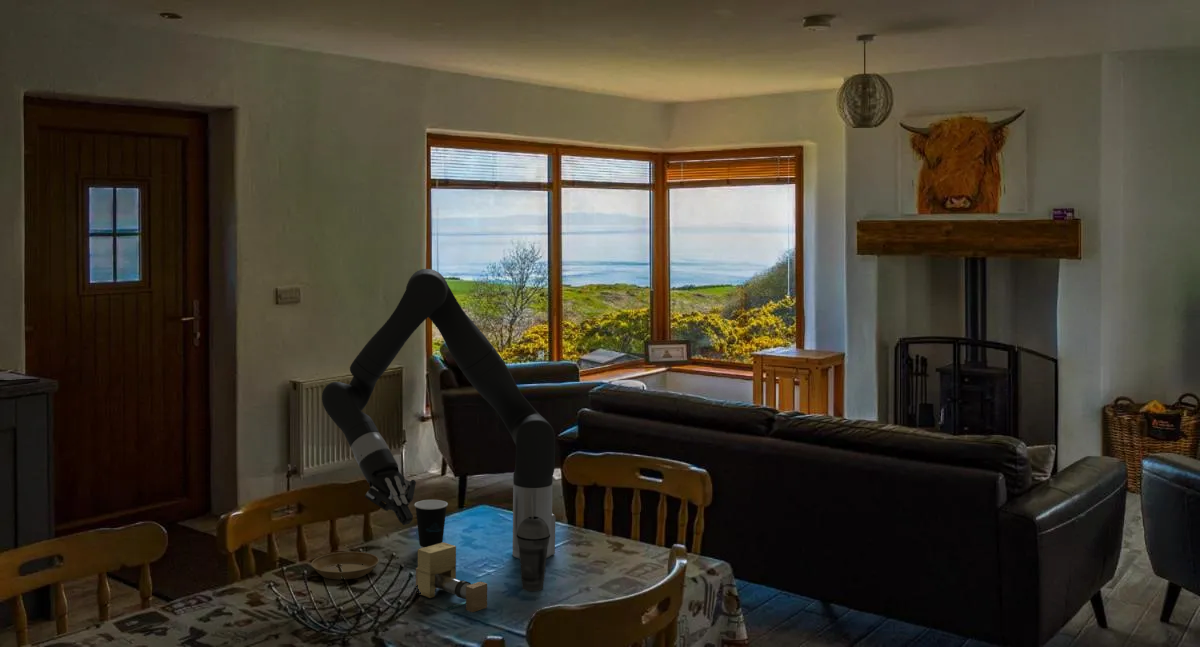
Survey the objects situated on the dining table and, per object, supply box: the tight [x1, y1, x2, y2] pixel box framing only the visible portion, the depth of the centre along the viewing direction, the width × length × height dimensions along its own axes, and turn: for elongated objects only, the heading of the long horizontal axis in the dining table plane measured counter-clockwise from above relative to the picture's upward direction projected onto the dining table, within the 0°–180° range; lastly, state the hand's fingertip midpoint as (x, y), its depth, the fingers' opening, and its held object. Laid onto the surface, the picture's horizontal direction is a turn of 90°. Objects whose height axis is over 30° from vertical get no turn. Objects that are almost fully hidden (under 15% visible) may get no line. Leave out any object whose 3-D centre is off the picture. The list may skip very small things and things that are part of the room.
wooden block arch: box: [417, 542, 457, 599], centre depth 228 cm, size 4×7×10 cm, turn 138°
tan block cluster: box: [415, 567, 488, 613], centre depth 226 cm, size 18×9×5 cm, turn 48°
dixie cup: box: [414, 499, 449, 549], centre depth 260 cm, size 8×8×11 cm
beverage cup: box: [517, 496, 550, 592], centre depth 233 cm, size 7×7×20 cm
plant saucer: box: [310, 551, 380, 581], centre depth 242 cm, size 15×15×3 cm
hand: (408, 522), depth 234 cm, fingers closed
